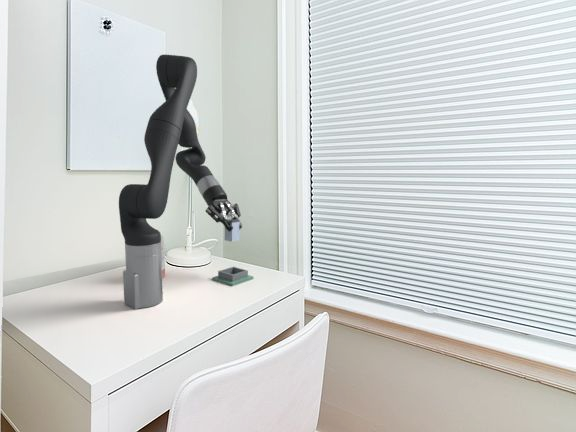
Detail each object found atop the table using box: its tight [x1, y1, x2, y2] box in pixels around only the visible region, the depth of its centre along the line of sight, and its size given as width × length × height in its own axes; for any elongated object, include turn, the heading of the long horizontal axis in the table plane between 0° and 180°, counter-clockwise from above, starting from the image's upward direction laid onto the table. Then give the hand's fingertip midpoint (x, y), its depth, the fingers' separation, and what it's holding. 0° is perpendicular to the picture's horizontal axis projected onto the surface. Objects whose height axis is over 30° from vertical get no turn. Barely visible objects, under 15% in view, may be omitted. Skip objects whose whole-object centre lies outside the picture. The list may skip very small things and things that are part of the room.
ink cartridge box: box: [161, 235, 166, 279], centre depth 112 cm, size 9×5×15 cm, turn 179°
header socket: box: [211, 266, 254, 287], centre depth 115 cm, size 10×10×3 cm
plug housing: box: [224, 218, 241, 243], centre depth 113 cm, size 4×4×7 cm
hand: (235, 229), depth 112 cm, fingers closed on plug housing, 3 cm apart
